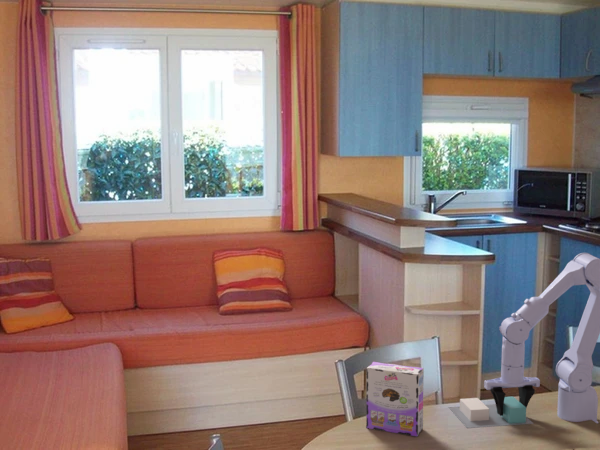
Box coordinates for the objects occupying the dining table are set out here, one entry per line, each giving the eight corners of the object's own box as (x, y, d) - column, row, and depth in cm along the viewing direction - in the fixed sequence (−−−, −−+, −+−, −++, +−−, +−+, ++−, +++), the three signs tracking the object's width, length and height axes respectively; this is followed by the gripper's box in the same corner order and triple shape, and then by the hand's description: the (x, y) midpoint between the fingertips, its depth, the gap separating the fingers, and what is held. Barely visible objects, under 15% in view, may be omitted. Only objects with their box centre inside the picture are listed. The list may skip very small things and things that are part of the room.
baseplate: (510, 406, 204) (511, 392, 204) (533, 427, 190) (534, 412, 190) (448, 410, 202) (448, 396, 201) (466, 431, 188) (467, 416, 187)
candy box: (423, 429, 190) (424, 367, 188) (417, 437, 185) (418, 374, 182) (372, 420, 196) (373, 360, 193) (365, 428, 190) (365, 366, 188)
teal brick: (512, 410, 199) (513, 396, 198) (525, 422, 191) (526, 407, 191) (496, 411, 198) (497, 397, 198) (509, 423, 190) (509, 408, 190)
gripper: (532, 357, 198) (530, 406, 199) (480, 360, 196) (478, 409, 197) (544, 366, 191) (542, 416, 193) (490, 369, 189) (489, 419, 191)
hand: (511, 413), depth 195 cm, fingers open, 5 cm apart
